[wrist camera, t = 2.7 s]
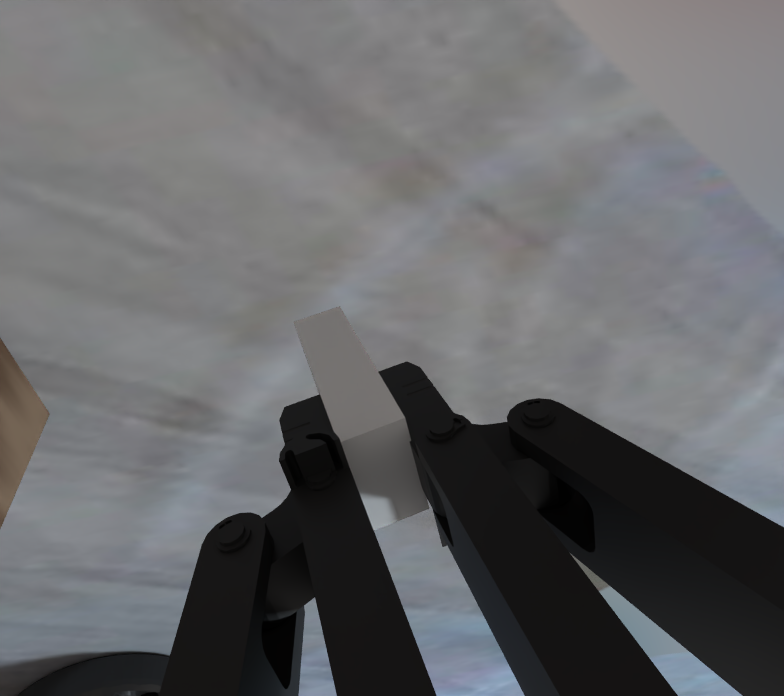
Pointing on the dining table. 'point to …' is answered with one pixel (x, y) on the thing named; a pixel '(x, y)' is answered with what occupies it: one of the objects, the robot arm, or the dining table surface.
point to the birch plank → (16, 427)
